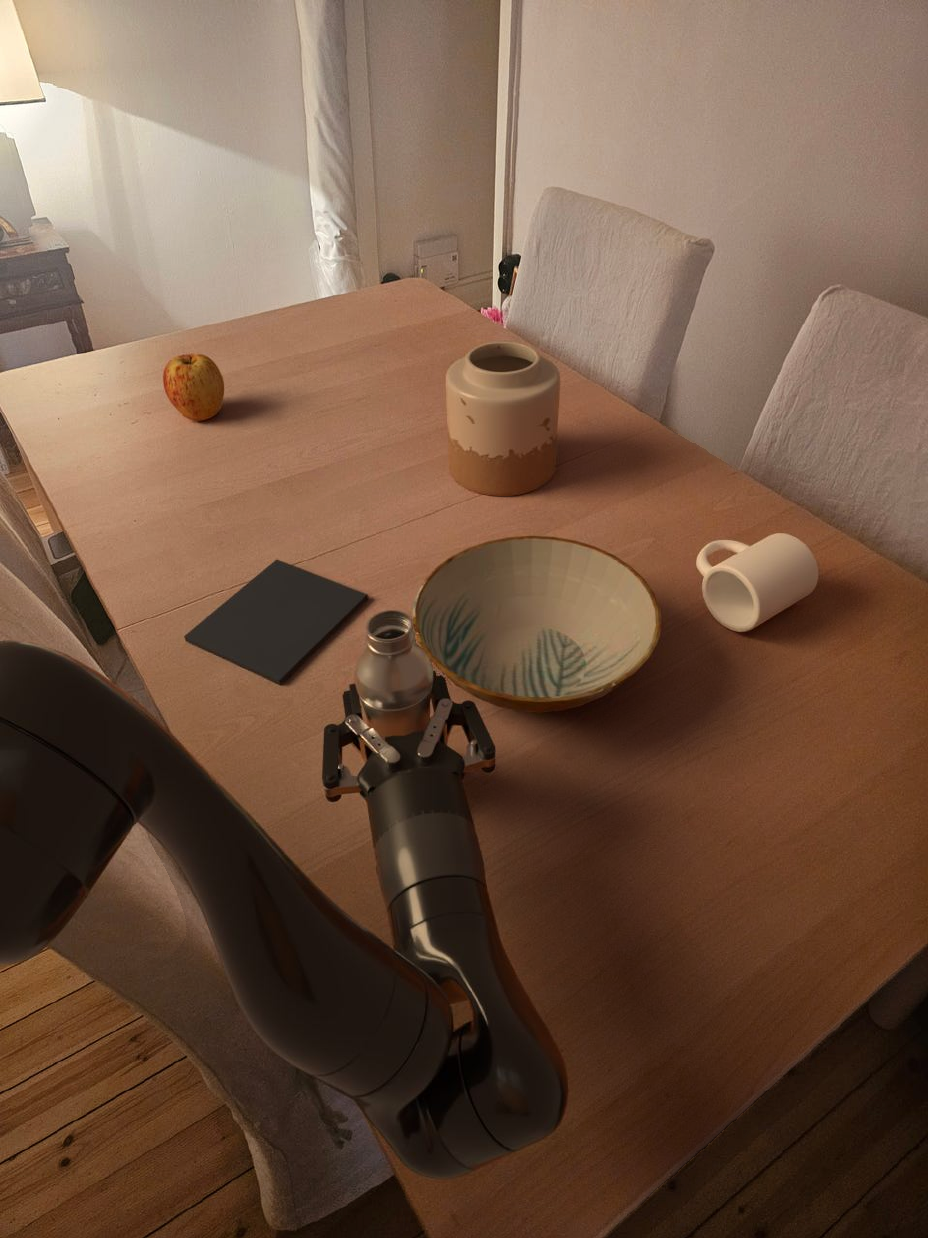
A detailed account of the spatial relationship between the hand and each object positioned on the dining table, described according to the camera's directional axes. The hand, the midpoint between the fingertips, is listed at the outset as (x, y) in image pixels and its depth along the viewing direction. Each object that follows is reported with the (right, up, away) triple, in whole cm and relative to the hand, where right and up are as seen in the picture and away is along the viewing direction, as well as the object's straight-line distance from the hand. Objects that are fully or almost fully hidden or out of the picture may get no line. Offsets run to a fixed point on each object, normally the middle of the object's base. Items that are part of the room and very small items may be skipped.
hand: (392, 684), depth 71 cm
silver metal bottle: (+1, -10, +6) cm, 11 cm away
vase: (+12, +27, +47) cm, 55 cm away
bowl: (+14, +1, +17) cm, 22 cm away
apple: (-36, +38, +61) cm, 80 cm away
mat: (-15, +6, +24) cm, 29 cm away
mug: (+38, +8, +24) cm, 46 cm away
